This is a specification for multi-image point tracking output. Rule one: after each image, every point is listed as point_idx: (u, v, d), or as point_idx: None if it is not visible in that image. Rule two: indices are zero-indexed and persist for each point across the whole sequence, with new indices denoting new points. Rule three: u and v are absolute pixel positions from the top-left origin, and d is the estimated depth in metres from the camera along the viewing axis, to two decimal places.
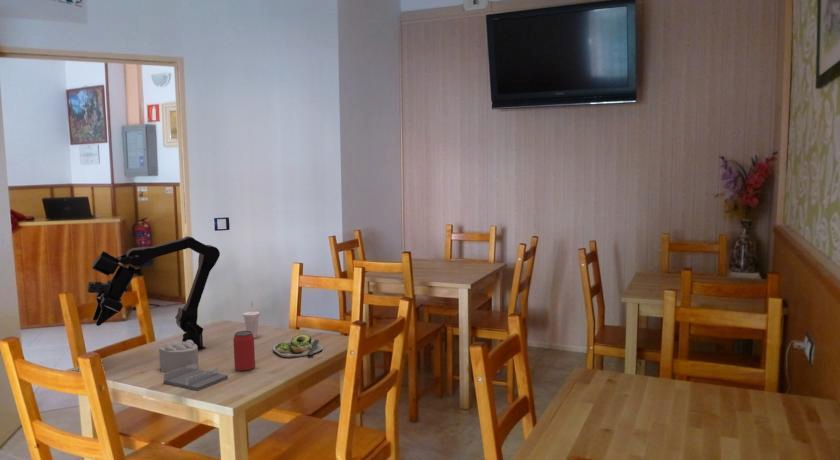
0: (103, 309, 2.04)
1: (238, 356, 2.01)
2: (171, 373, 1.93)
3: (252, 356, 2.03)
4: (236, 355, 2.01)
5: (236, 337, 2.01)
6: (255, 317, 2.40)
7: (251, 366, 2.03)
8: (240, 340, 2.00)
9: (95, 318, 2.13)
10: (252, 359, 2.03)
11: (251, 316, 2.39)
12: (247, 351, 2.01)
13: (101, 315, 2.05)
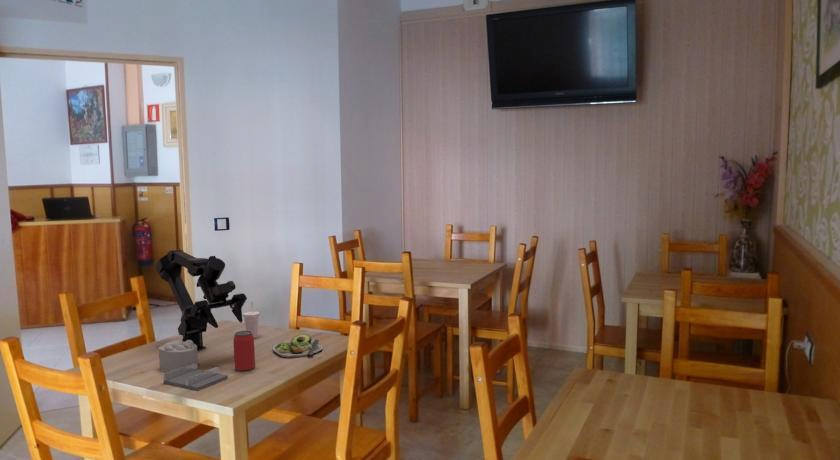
0: None
1: (238, 356, 2.01)
2: (171, 373, 1.93)
3: (252, 356, 2.03)
4: (236, 355, 2.01)
5: (236, 337, 2.01)
6: (255, 317, 2.40)
7: (251, 366, 2.03)
8: (240, 340, 2.00)
9: None
10: (252, 359, 2.03)
11: (251, 316, 2.39)
12: (247, 351, 2.01)
13: None
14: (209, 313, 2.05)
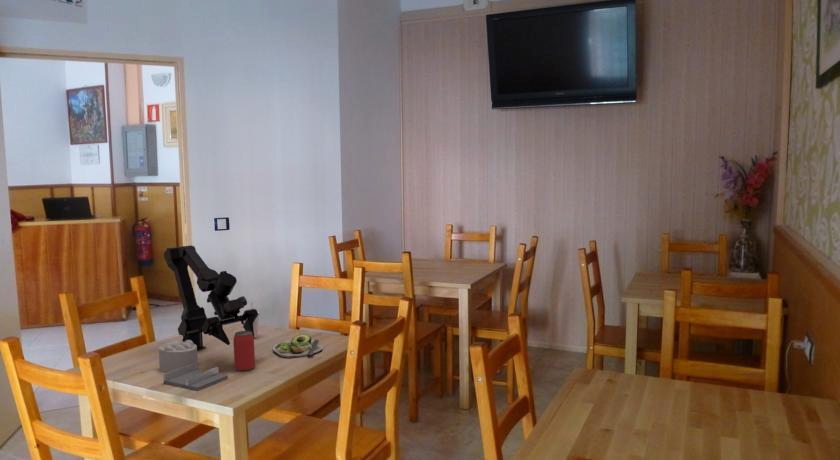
0: None
1: (238, 356, 2.01)
2: (171, 373, 1.93)
3: (252, 356, 2.03)
4: (236, 355, 2.01)
5: (236, 337, 2.01)
6: None
7: (251, 366, 2.03)
8: (240, 340, 2.00)
9: None
10: (252, 359, 2.03)
11: None
12: (247, 351, 2.01)
13: None
14: (221, 330, 2.02)
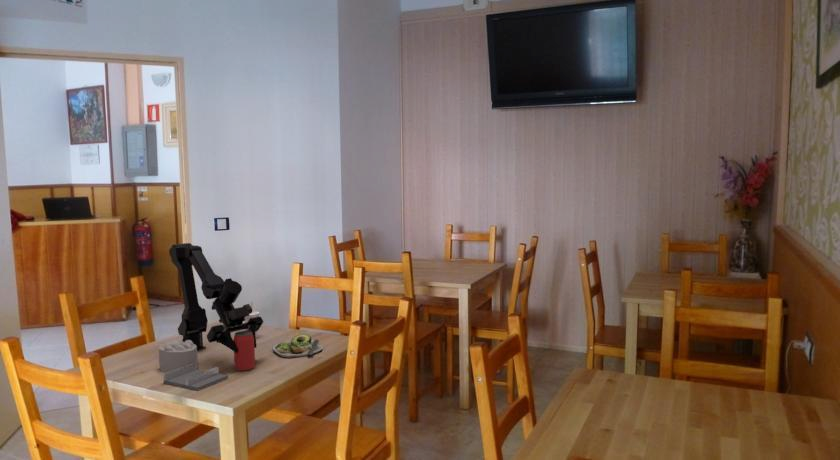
0: None
1: (238, 356, 2.01)
2: (171, 373, 1.93)
3: (252, 356, 2.03)
4: (236, 355, 2.01)
5: (236, 337, 2.01)
6: None
7: (251, 366, 2.03)
8: (240, 340, 2.00)
9: None
10: (252, 359, 2.03)
11: (251, 316, 2.39)
12: (247, 351, 2.01)
13: None
14: (229, 337, 2.01)
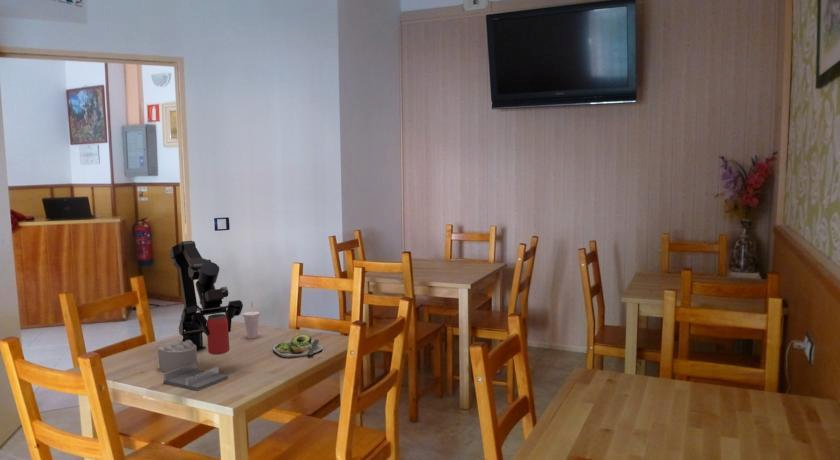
0: None
1: (210, 340, 1.96)
2: (171, 373, 1.93)
3: (224, 340, 1.97)
4: (208, 338, 1.97)
5: (208, 320, 1.97)
6: (255, 317, 2.40)
7: (223, 350, 1.97)
8: (211, 323, 1.96)
9: None
10: (224, 343, 1.97)
11: (251, 316, 2.39)
12: (218, 335, 1.96)
13: None
14: (201, 319, 1.97)
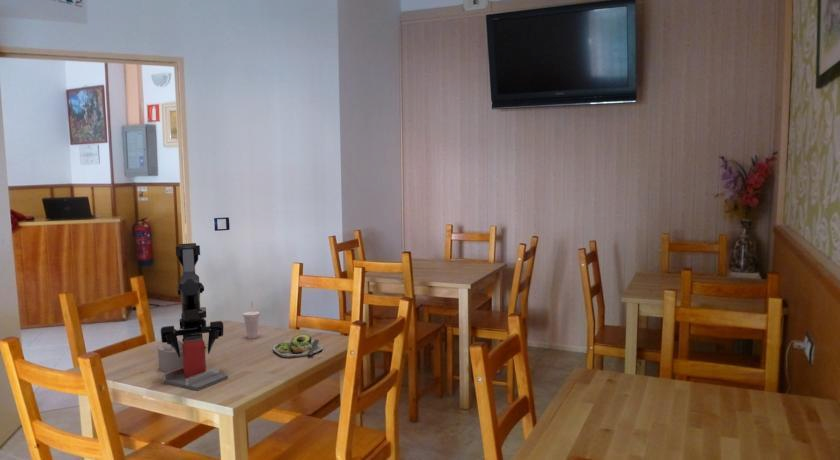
0: None
1: (184, 362, 1.93)
2: (171, 373, 1.93)
3: (198, 364, 1.92)
4: (183, 360, 1.93)
5: (183, 342, 1.93)
6: (255, 317, 2.40)
7: None
8: (185, 345, 1.92)
9: (179, 354, 1.92)
10: (198, 367, 1.93)
11: (251, 316, 2.39)
12: (191, 358, 1.91)
13: (212, 341, 1.97)
14: (174, 340, 1.93)
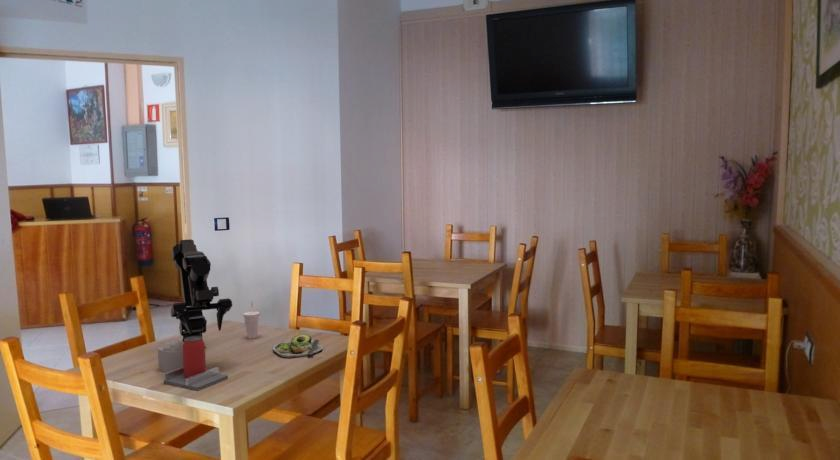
0: None
1: (184, 362, 1.93)
2: (171, 373, 1.93)
3: (198, 364, 1.92)
4: (183, 360, 1.93)
5: (183, 342, 1.93)
6: (255, 317, 2.40)
7: None
8: (185, 345, 1.92)
9: None
10: (198, 367, 1.93)
11: (251, 316, 2.39)
12: (191, 358, 1.91)
13: None
14: (185, 317, 1.99)
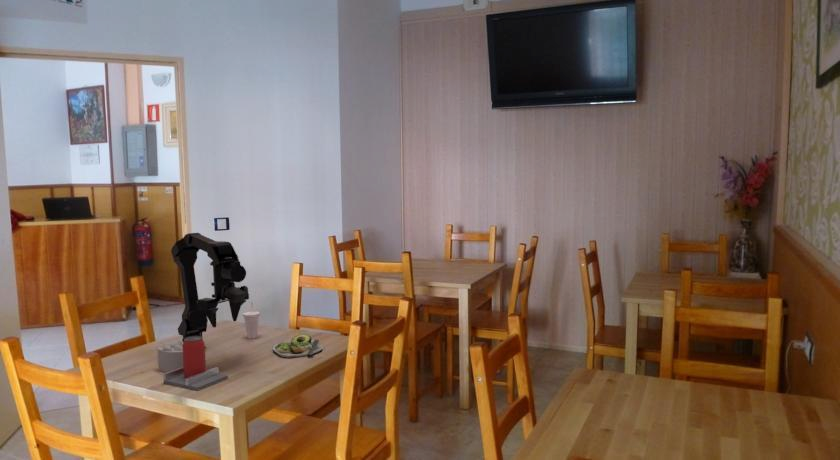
0: None
1: (184, 362, 1.93)
2: (171, 373, 1.93)
3: (198, 364, 1.92)
4: (183, 360, 1.93)
5: (183, 342, 1.93)
6: (255, 317, 2.40)
7: None
8: (185, 345, 1.92)
9: None
10: (198, 367, 1.93)
11: (251, 316, 2.39)
12: (191, 358, 1.91)
13: None
14: (214, 313, 2.05)
